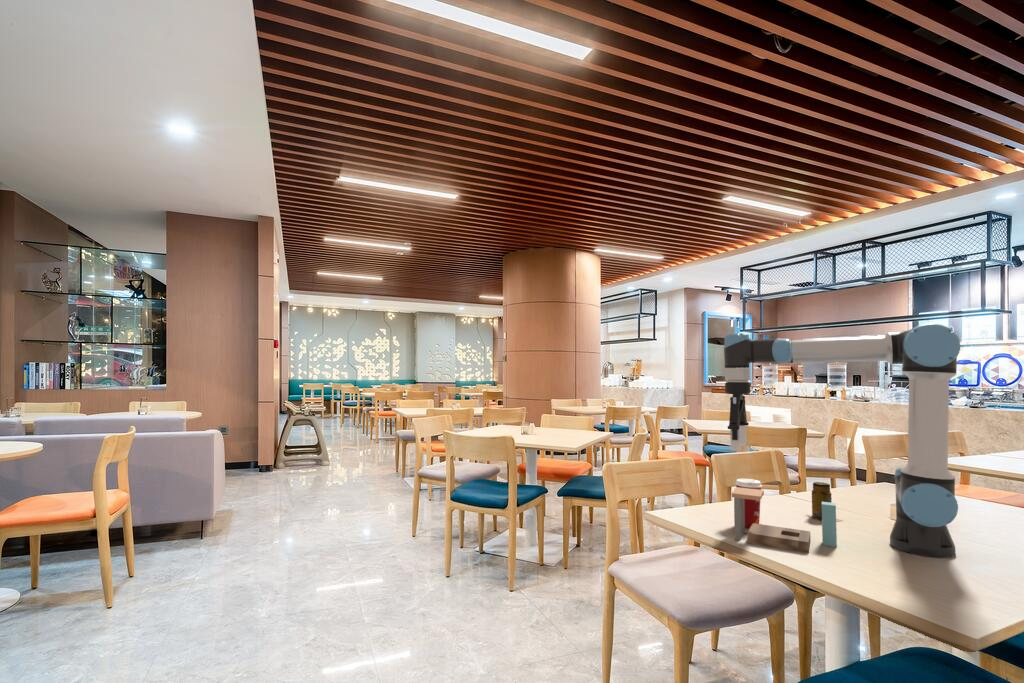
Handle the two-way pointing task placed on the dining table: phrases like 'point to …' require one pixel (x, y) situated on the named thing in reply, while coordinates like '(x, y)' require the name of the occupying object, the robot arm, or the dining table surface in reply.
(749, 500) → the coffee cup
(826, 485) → the condiment
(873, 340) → the robot arm
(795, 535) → the socket block
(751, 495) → the toy block arch
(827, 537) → the peg
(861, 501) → the dining table surface
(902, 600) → the dining table surface
